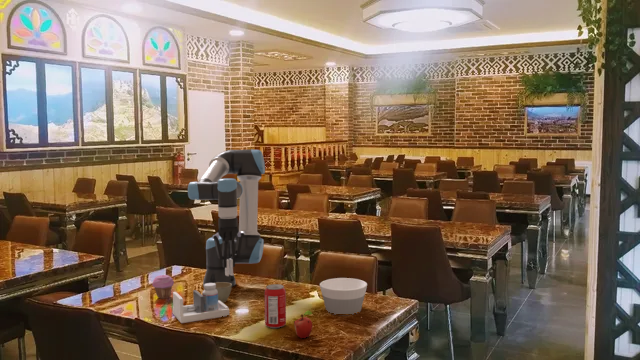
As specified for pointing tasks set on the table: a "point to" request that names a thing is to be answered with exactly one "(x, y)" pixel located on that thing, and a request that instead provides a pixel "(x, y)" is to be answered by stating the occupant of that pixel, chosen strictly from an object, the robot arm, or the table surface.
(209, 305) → the pill bottle
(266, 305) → the soda can
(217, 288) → the flower pot
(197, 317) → the white open tray
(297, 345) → the table surface
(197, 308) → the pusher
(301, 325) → the apple
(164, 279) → the cupcake
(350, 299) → the bowl
